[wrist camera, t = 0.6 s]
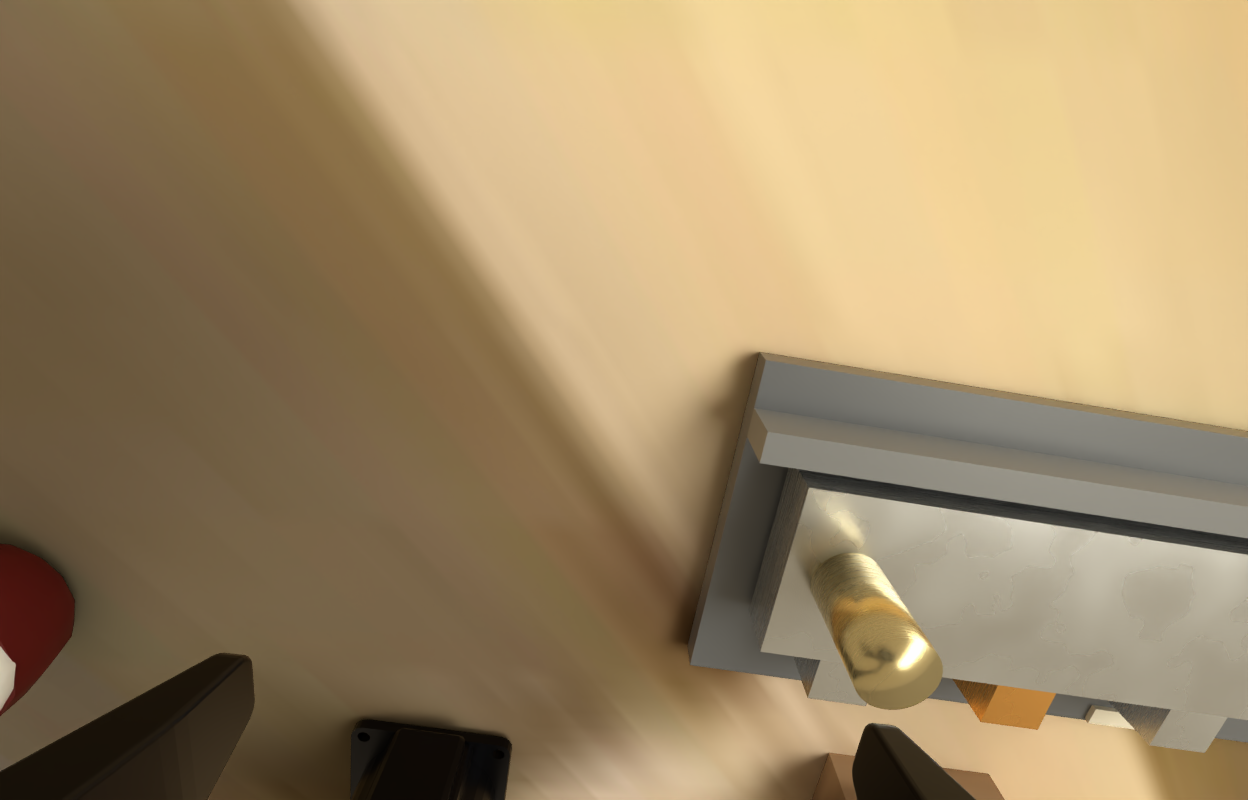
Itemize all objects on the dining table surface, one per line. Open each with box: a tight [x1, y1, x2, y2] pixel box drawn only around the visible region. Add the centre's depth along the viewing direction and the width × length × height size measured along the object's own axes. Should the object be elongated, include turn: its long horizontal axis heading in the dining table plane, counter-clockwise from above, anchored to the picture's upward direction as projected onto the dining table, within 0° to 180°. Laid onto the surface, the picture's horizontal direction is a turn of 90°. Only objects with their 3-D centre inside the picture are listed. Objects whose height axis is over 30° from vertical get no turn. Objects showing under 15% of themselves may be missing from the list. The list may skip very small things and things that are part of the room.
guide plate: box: [688, 352, 1248, 742], centre depth 20 cm, size 12×29×3 cm, turn 81°
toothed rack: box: [749, 468, 1248, 753], centre depth 18 cm, size 8×18×6 cm, turn 81°
